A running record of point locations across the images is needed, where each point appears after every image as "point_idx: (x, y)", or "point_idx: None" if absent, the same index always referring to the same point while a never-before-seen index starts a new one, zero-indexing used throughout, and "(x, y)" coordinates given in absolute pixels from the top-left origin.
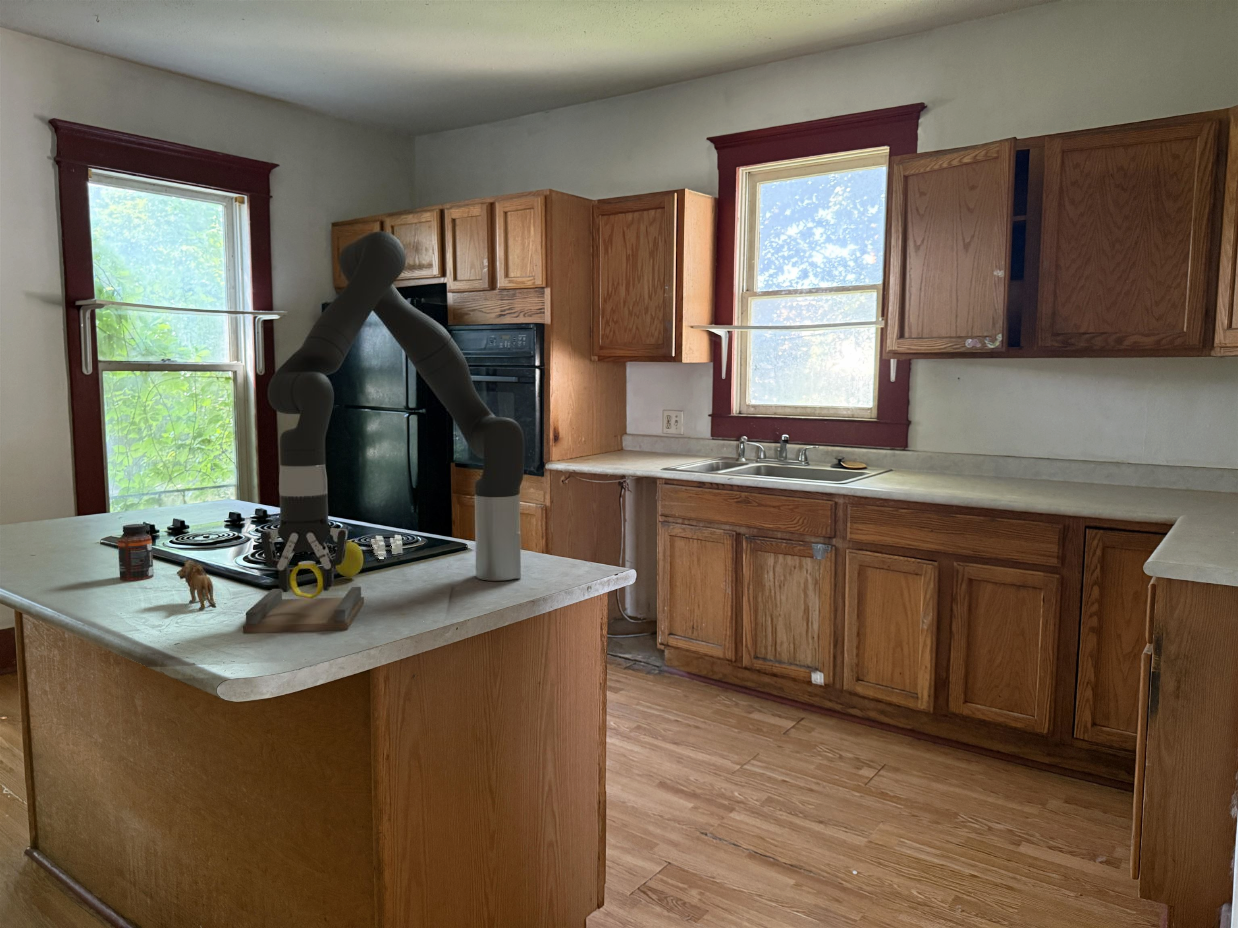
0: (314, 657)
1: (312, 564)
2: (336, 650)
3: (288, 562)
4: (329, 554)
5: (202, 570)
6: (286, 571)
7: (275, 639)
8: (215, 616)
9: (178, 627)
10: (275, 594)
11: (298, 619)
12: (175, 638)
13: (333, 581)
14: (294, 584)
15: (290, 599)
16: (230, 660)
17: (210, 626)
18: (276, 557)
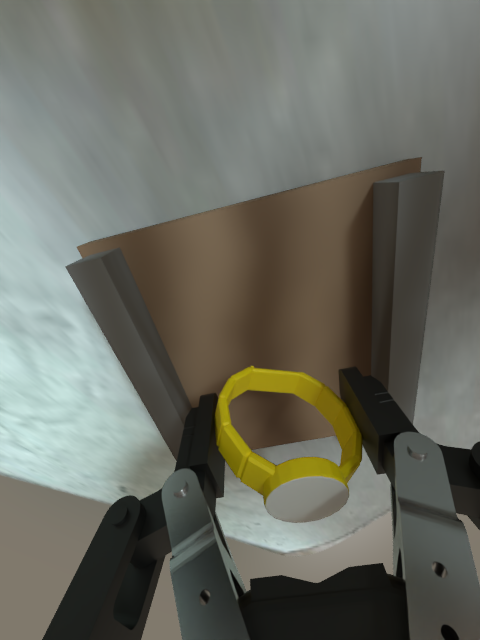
0: (361, 508)
1: (340, 506)
2: (387, 488)
3: (205, 500)
4: (452, 506)
5: None
6: (223, 493)
7: None
8: (28, 357)
9: (34, 430)
10: (141, 340)
11: (282, 418)
12: (95, 473)
13: (383, 387)
14: (229, 400)
15: (146, 238)
16: (252, 522)
17: (92, 419)
18: (132, 535)
